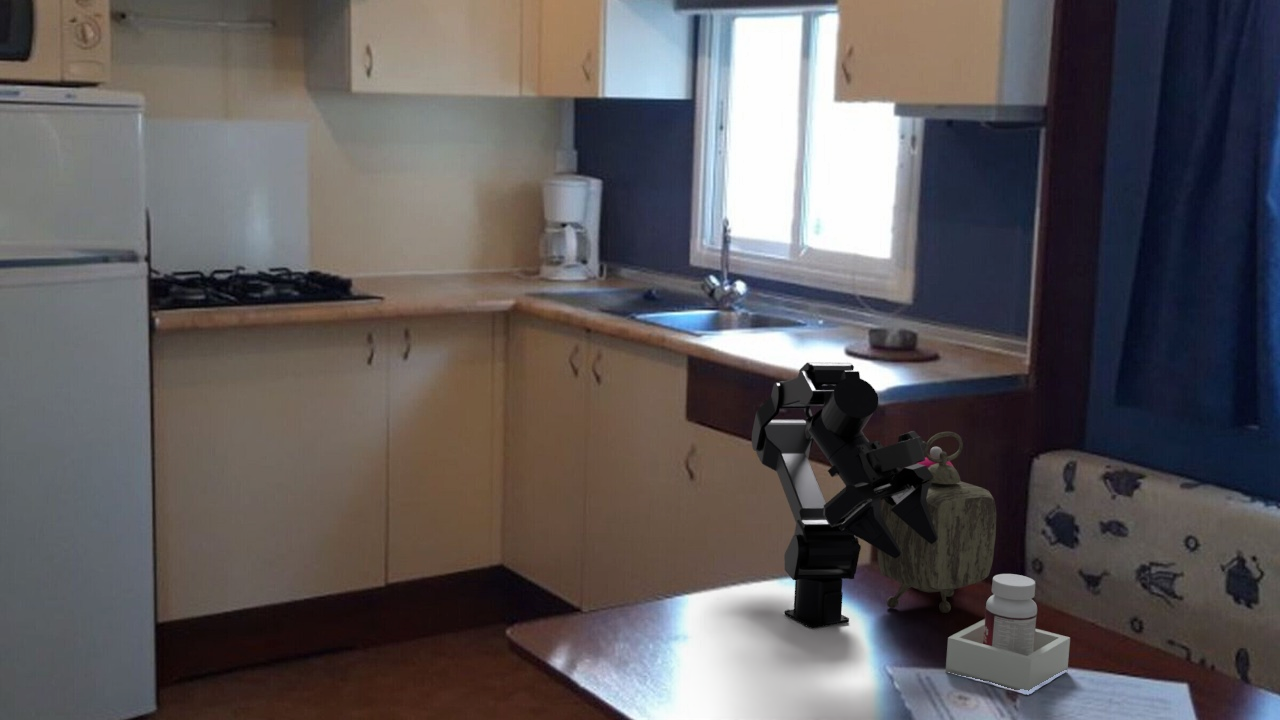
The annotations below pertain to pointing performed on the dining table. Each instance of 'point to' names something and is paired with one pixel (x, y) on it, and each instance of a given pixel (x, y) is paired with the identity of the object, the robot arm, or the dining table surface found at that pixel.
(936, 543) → the tabletop clock
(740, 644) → the dining table surface
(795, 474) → the robot arm
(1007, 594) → the pill bottle
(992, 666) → the sage open tray box
